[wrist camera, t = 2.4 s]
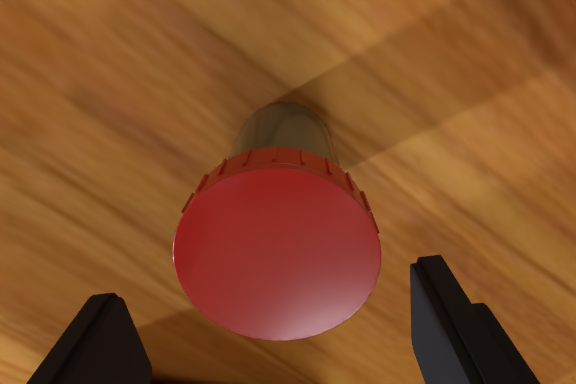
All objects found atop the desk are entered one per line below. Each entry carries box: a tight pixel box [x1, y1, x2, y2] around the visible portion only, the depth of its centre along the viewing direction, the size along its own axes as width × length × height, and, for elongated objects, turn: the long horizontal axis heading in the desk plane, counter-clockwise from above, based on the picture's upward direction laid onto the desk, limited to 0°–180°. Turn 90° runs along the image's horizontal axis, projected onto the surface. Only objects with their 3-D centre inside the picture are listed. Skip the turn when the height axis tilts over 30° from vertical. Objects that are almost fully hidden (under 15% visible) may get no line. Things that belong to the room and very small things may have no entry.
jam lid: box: [172, 145, 381, 341], centre depth 13 cm, size 7×7×2 cm
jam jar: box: [227, 103, 340, 168], centre depth 17 cm, size 6×6×11 cm
